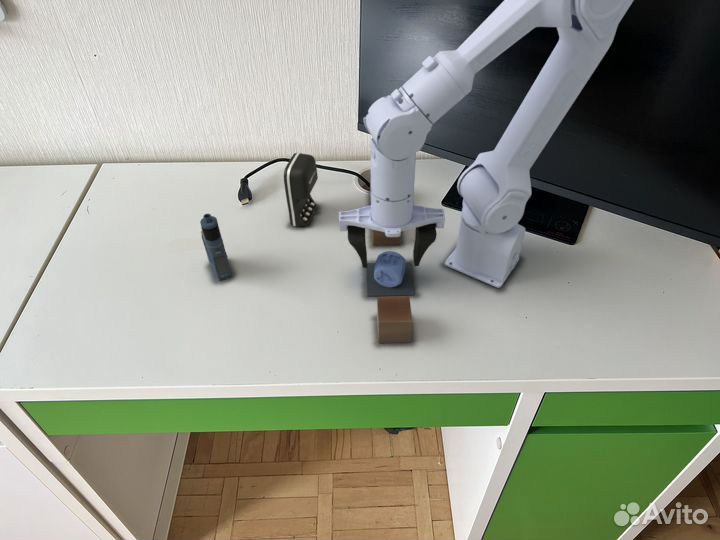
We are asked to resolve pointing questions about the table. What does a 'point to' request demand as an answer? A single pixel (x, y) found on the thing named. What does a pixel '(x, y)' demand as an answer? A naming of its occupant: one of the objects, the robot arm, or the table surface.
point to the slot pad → (380, 290)
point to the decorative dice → (389, 269)
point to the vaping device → (215, 247)
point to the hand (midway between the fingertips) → (390, 262)
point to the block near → (394, 319)
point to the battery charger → (300, 188)
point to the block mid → (384, 239)
